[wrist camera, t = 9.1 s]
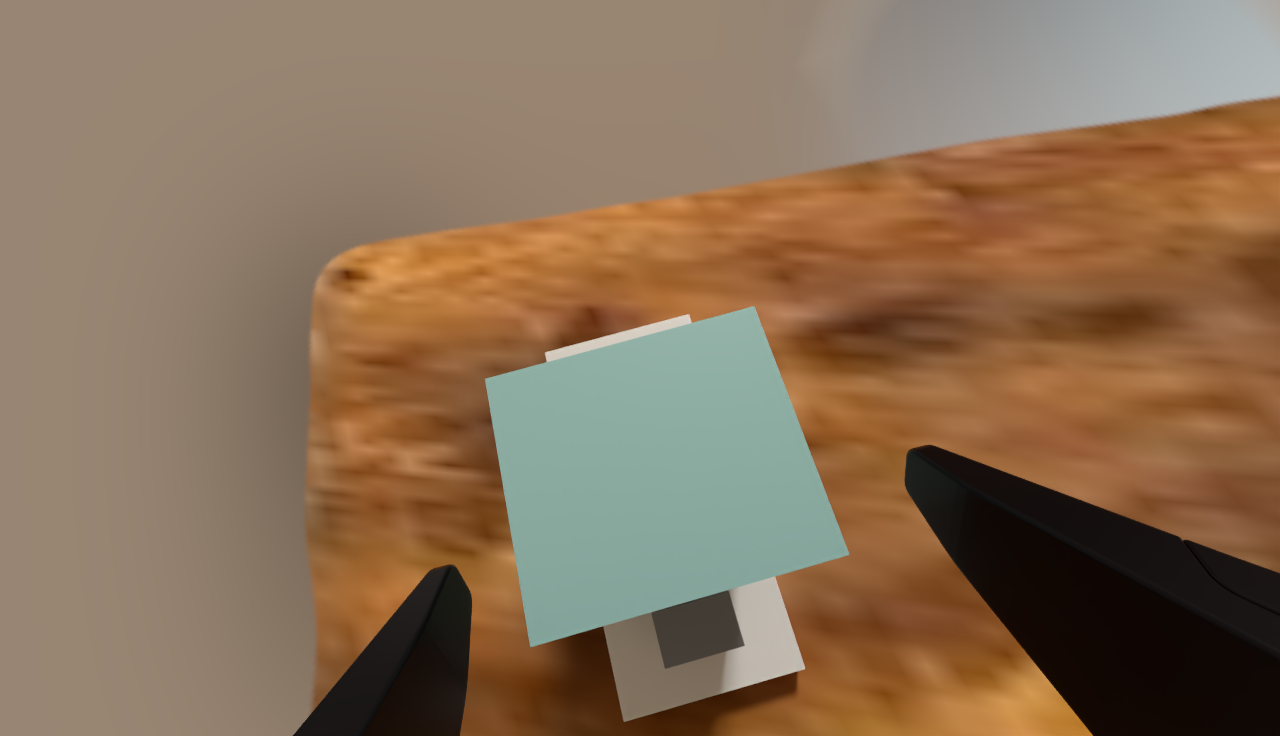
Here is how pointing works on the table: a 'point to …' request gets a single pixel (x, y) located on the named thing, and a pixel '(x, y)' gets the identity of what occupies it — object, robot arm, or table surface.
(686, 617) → the shaft bracket
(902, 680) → the table surface
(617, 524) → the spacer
